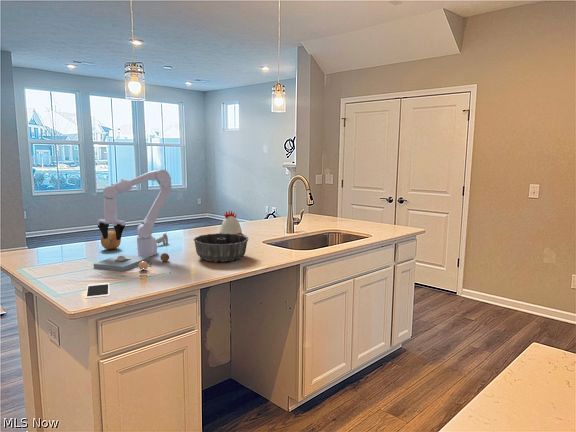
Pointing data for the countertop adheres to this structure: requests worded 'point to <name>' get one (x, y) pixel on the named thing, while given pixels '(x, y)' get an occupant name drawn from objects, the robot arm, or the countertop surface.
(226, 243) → the bundt pan
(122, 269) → the hole plate
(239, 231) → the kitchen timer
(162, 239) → the caliper
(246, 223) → the countertop surface
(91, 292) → the cell phone
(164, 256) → the walnut ball
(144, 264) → the terracotta ball
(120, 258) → the steel ball
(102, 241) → the onion
